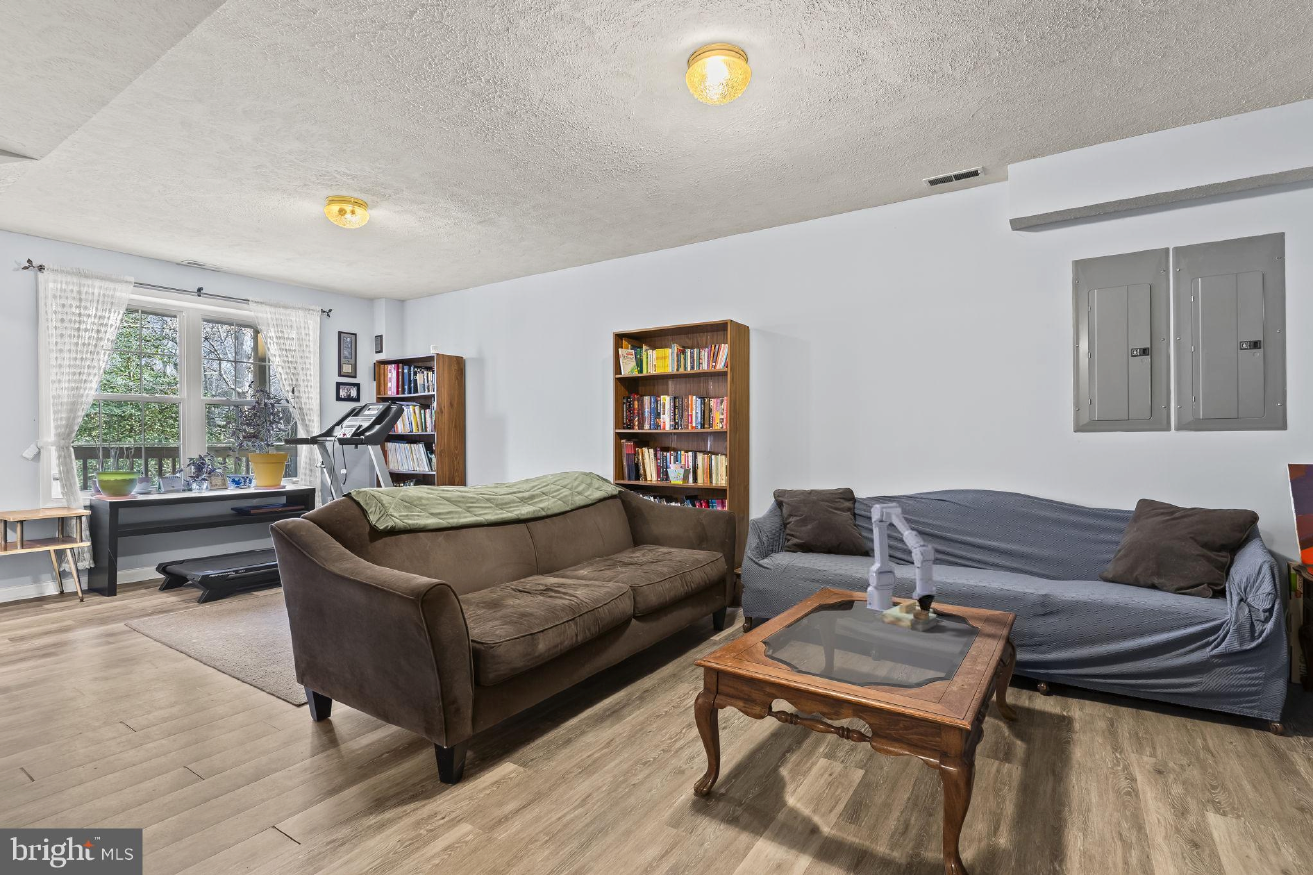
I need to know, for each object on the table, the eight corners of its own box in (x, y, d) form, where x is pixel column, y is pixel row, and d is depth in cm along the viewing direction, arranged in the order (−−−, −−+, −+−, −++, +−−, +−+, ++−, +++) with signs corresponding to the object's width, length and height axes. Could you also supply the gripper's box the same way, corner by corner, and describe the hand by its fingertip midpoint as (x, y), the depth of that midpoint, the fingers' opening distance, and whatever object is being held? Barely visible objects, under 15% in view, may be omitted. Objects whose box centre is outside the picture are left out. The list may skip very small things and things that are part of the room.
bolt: (913, 617, 233) (913, 611, 233) (918, 615, 235) (918, 609, 235) (923, 619, 229) (923, 613, 229) (929, 617, 232) (928, 611, 232)
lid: (882, 616, 241) (882, 604, 241) (903, 607, 252) (903, 596, 251) (922, 625, 229) (922, 612, 229) (943, 616, 239) (943, 603, 239)
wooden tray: (881, 622, 241) (881, 612, 241) (903, 612, 252) (903, 603, 252) (921, 631, 228) (921, 621, 228) (943, 621, 239) (943, 611, 239)
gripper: (925, 583, 226) (926, 621, 227) (944, 576, 236) (945, 612, 236) (906, 580, 232) (907, 617, 232) (925, 573, 241) (926, 608, 241)
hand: (925, 614), depth 234 cm, fingers closed
